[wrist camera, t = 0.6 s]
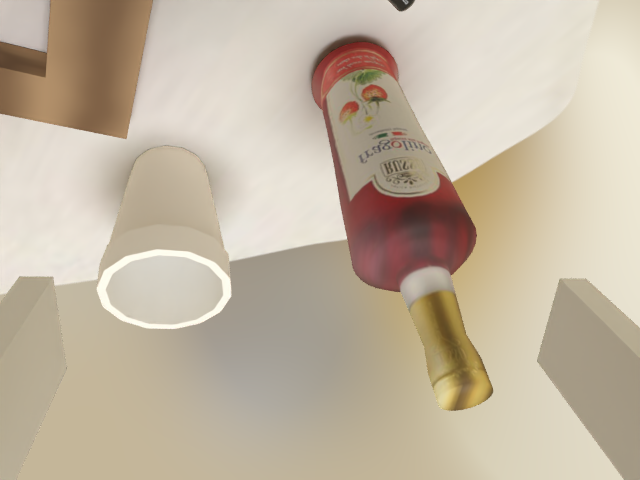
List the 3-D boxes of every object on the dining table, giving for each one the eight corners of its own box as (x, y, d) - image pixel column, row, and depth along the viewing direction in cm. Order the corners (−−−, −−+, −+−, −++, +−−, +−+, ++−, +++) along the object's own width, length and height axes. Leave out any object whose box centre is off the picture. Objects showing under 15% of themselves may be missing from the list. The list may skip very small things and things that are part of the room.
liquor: (307, 116, 48) (383, 440, 29) (304, 35, 42) (396, 370, 24) (393, 107, 48) (520, 419, 30) (401, 26, 43) (563, 345, 24)
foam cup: (206, 120, 46) (210, 237, 38) (236, 199, 53) (246, 313, 45) (93, 146, 47) (72, 268, 38) (138, 221, 54) (129, 339, 45)
